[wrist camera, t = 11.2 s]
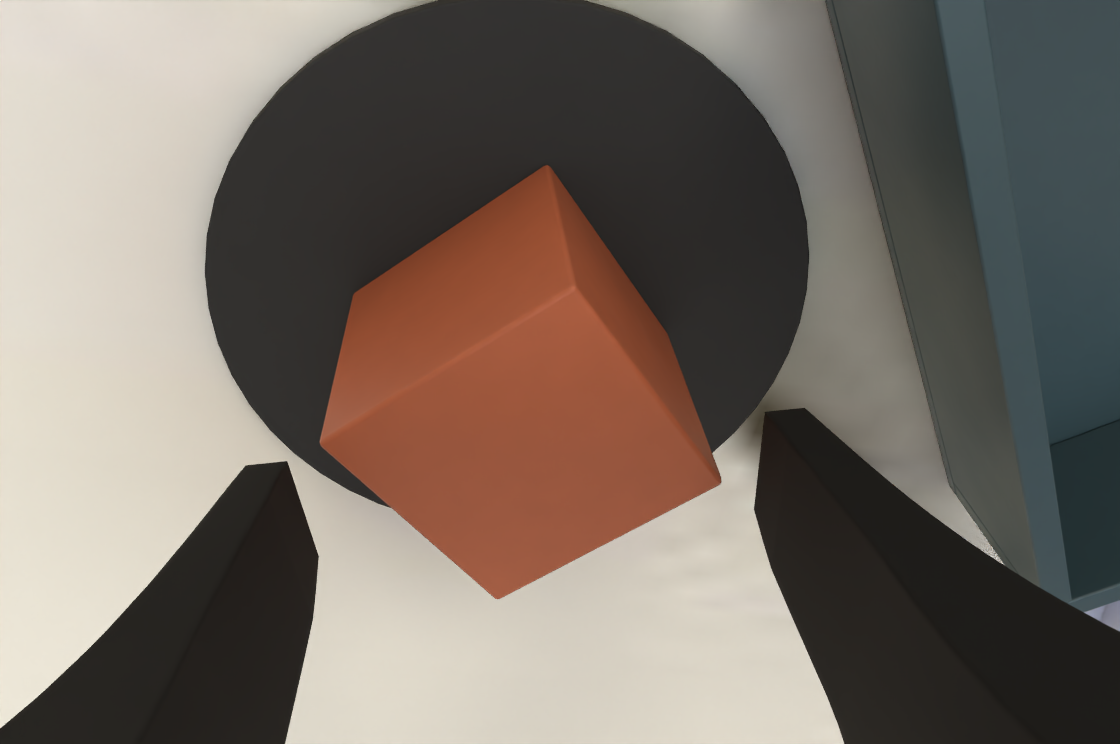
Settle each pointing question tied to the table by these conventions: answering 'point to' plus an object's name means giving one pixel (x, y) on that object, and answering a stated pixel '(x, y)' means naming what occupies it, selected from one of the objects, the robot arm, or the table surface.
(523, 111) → the coaster
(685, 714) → the table surface
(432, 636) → the table surface
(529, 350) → the block
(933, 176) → the tote
